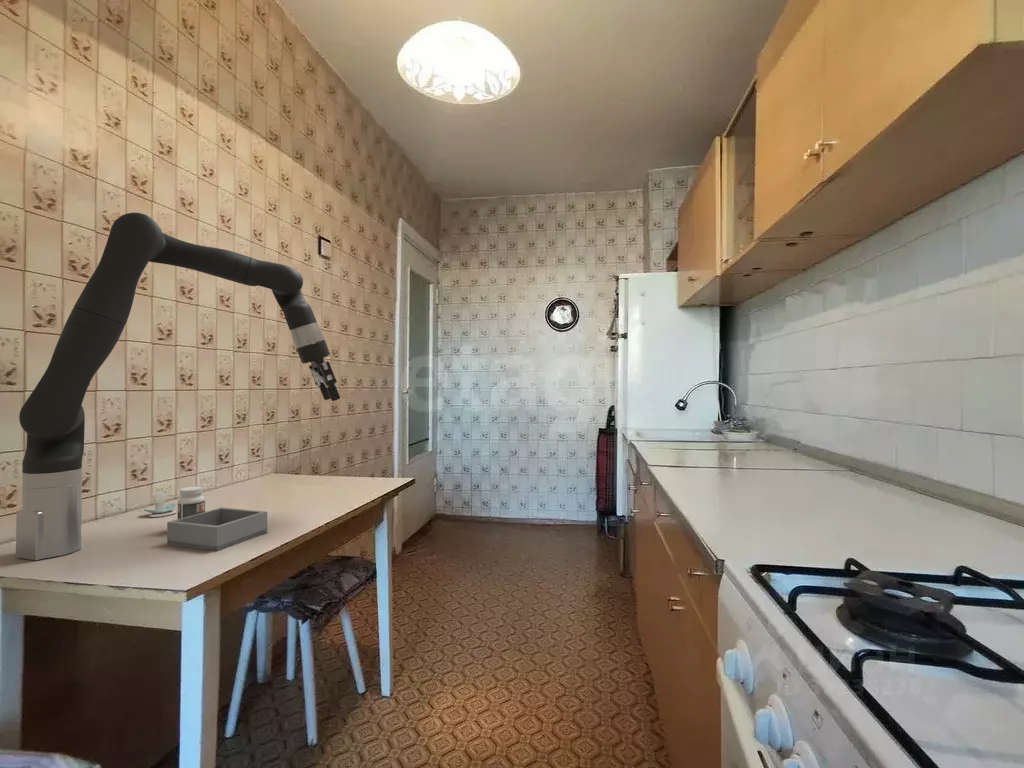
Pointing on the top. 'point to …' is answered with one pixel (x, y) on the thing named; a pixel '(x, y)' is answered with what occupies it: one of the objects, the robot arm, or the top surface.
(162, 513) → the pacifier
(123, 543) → the top surface
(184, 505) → the pill bottle
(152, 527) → the top surface
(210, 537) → the bin
